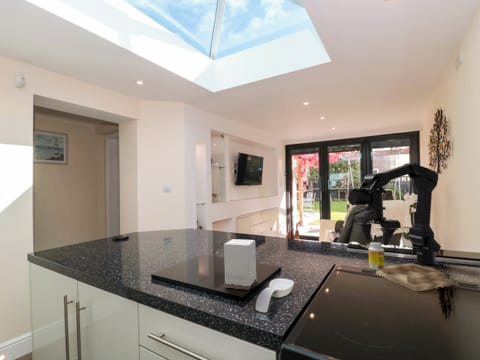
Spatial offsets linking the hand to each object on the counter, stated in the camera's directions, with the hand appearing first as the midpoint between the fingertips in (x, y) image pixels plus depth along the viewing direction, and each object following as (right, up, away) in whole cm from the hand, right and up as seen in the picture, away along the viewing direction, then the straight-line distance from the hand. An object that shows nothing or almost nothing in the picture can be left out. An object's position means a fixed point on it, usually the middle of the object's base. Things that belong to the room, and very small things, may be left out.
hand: (376, 243), depth 103 cm
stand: (+6, -10, -13) cm, 17 cm away
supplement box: (-55, -11, -15) cm, 58 cm away
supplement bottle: (0, -11, 0) cm, 11 cm away
